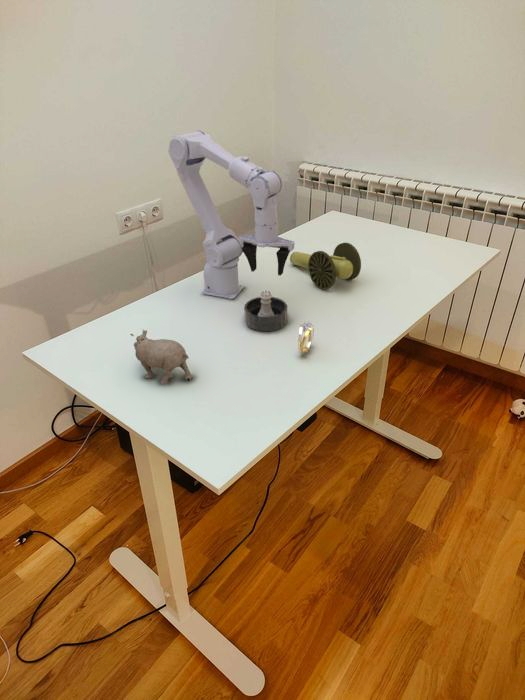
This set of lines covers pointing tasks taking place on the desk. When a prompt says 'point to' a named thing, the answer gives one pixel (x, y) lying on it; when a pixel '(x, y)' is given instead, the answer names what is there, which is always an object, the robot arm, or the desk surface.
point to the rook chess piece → (265, 304)
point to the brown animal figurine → (161, 356)
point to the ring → (311, 333)
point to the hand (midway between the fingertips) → (267, 272)
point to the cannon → (330, 265)
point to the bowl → (265, 322)
